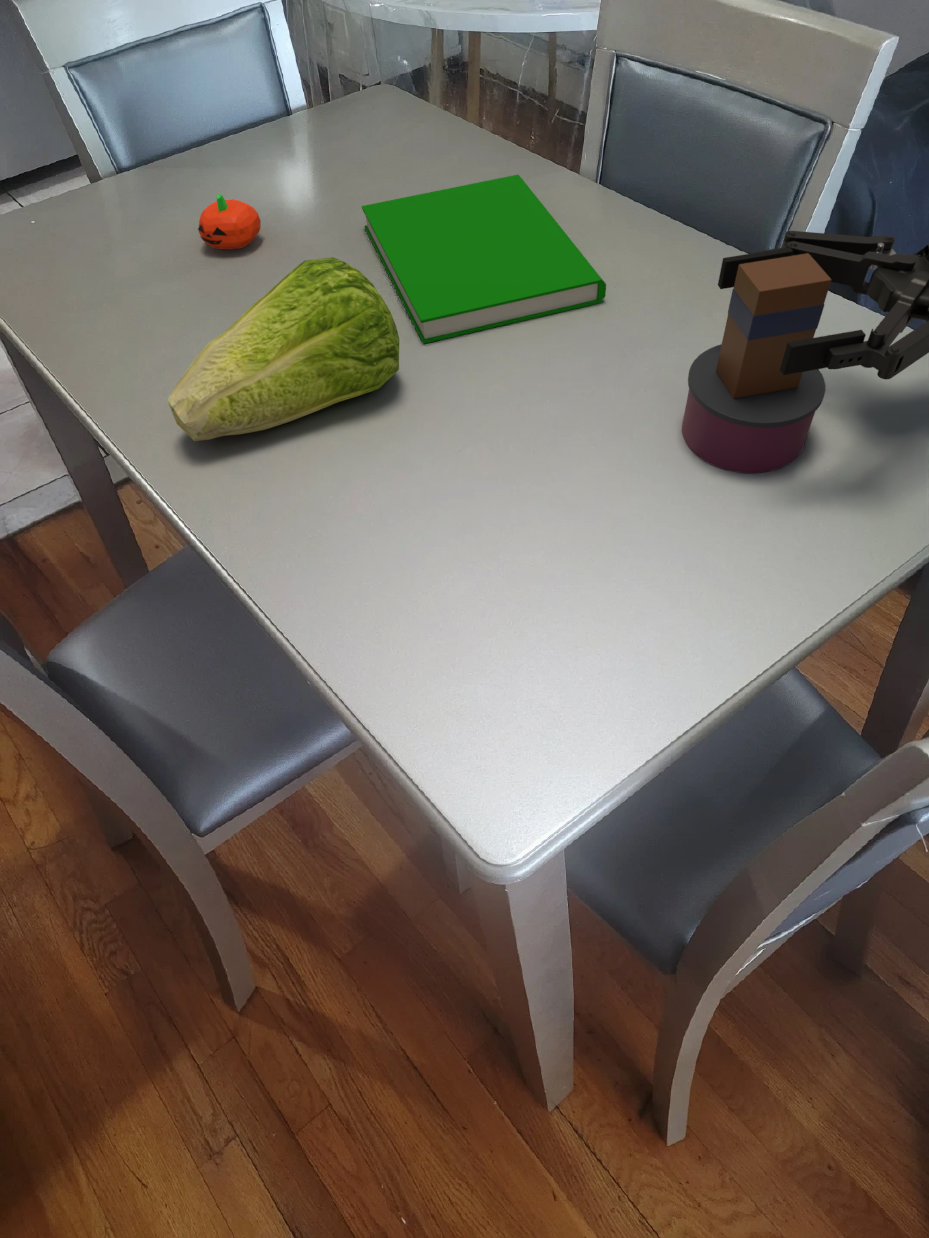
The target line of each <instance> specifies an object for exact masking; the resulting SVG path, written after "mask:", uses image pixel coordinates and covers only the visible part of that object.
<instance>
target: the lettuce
mask: <svg viewBox="0 0 929 1238" xmlns="http://www.w3.org/2000/svg"><path fill="white" fill-rule="evenodd" d="M398 332H399V331H398V327H397V325H396V322H395V319H394V317H393V314H392V312H391V310H390V308H389V306H388V305H387V303H386V302H385V300H384V298H383V296H382V295H381V294H380V292H379V291H378V289H377V288H376V287H375V285H374V283H373V282H371V281H370V280H369V279H368V278H367V276H366V275H364V274H363V273H362V272H361V270H359V269H357V268H355V267H354V266H352V265H350V264H348V263H347V262H346V261H344V260H341V259H339V258H336V257H333V256H332V257H325V258H324V257H323V258H315V259H307V260H303V261H302V262H301V263H299V264H298V265H296V267H294V269H292V270H291V271H290V272H289V273H287V274H286V275H285V276H284V277H283V278H282V279H281V280H279V281H278V282H277V283H276V284H275V285H274V286H273V287H272V288H271V289H270V290H269V291H268V292H266V293H265V294H264V295H263V296H262V297H260V298H259V299H258V300H257V301H255V302H254V303H253V304H252V305H250V306H249V307H248V308H247V309H246V310H245V311H244V312H243V314H242V315H241V316H240V317H238V319H237V320H235V321H234V323H232V324H231V325H230V326H229V327H228V328H227V329H226V330H225V331H223V332H222V333H220V334H219V335H218V336H216V337H215V338H213V339H212V340H211V341H209V342H208V343H207V344H206V345H205V346H204V347H203V349H201V351H199V353H198V354H197V356H196V357H195V358H194V359H193V360H192V362H191V363H190V365H189V366H188V367H187V369H186V370H185V371H184V373H183V375H181V377H180V378H179V380H178V381H177V383H176V384H175V386H173V389H172V391H171V393H170V395H169V397H168V398H167V403H168V406H169V408H170V411H171V414H172V416H173V418H174V421H175V423H176V425H177V426H178V427H179V428H180V429H181V430H183V431H184V432H185V434H187V435H188V437H190V439H192V441H194V442H200V441H206V440H212V439H213V440H214V439H216V438H220V437H225V436H235V435H243V434H249V433H255V432H260V431H265V430H268V429H271V428H274V427H278V426H281V425H283V424H286V423H289V422H292V421H295V420H298V419H300V418H302V417H303V418H304V417H305V416H307V415H310V414H313V413H315V412H318V411H320V410H322V409H325V408H328V407H330V406H333V405H335V404H337V403H340V402H344V401H346V400H347V401H348V400H350V399H353V398H356V397H359V396H362V395H365V394H368V393H371V392H374V391H376V390H379V389H380V388H382V386H384V384H386V382H387V381H389V380H390V379H391V378H392V377H393V376H394V375H395V374H396V373H397V372H398V371H399V370H400V337H399V333H398Z"/></svg>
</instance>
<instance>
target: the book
mask: <svg viewBox="0 0 929 1238" xmlns="http://www.w3.org/2000/svg"><path fill="white" fill-rule="evenodd" d="M361 209H362V212H363V214H364V216H365V220H366V225H364V230H365V232H366V234H367V235H368V238H369V240H370V241H371V244H372V246H373V248H374V250H375V252H376V253H377V256H378V257H379V260H380V262H381V263H382V265H383V267H384V270H385V271H386V273H387V275H388V277H389V280H390V281H391V283H392V285H393V287H394V290H395V291H396V294H397V295H398V297H399V299H400V300H401V303H402V305H403V306H404V308H405V311H406V312H407V315H408V316H409V318H410V319H409V320H410V321H411V323H412V324H413V326H414V328H415V330H416V332H417V334H418V336H419V338H420V340H421V342H422V344H428V343H432V342H433V343H434V342H437V341H441V340H445V339H450V338H455V337H459V336H463V335H468V334H472V333H477V332H481V331H485V330H490V329H494V328H499V327H502V326H507V325H512V324H516V323H520V322H525V321H528V320H533V319H538V318H542V317H546V316H549V315H555V314H559V313H564V312H568V311H572V310H576V309H580V308H585V307H589V306H594V305H598V304H601V303H602V301H603V300H604V299H605V297H606V293H607V283H606V282H605V281H604V280H603V278H602V277H601V276H600V274H598V272H597V271H596V269H595V268H594V266H592V264H591V263H590V262H589V260H588V259H587V258H586V257H585V255H584V254H583V253H582V252H581V251H580V249H579V248H578V247H577V246H576V244H575V243H574V242H573V241H572V240H571V238H570V237H569V236H568V234H567V233H566V232H565V230H564V229H563V228H562V227H561V226H560V224H559V223H558V221H557V220H556V219H555V218H554V216H553V215H552V214H551V213H550V211H549V210H548V209H547V208H546V207H545V206H544V204H543V203H542V202H541V200H540V199H539V198H538V197H537V196H536V194H535V193H534V191H533V190H532V189H531V187H529V185H528V184H527V183H526V182H525V180H524V179H523V178H522V177H521V176H520V174H513V175H509V176H503V177H498V178H493V179H489V180H483V181H478V182H473V183H468V184H464V185H459V186H453V187H449V188H444V189H439V190H433V191H430V192H425V193H419V194H415V195H414V194H413V195H408V196H404V197H400V198H395V199H389V200H384V201H379V202H374V203H369V204H365V205H361Z"/></svg>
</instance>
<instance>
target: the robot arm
mask: <svg viewBox="0 0 929 1238" xmlns="http://www.w3.org/2000/svg"><path fill="white" fill-rule="evenodd" d="M895 241H896V237H894V236H892V235H889V234H886V235H885V234H884V235H875V236H874V235H873V236H862V235H861V236H860V235H851V234H837V233H824V232H812V231H801V230H800V231H799V230H787V231H786V232H785V233H784V236H783V240H782V245H781V247H778V248H770V249H766V250H759V251H754V252H752V253H745V254H739V255H733V256H727V257H723V258H722V261H721V267H720V270H719V271H720V272H719V277H718V282H717V286H718V288H719V289H720V290H725V289H733V288H734V285H735V280H736V276H737V271H738V266H739V264H745V263H751V262H757V261H763V260H770V259H776V258H782V257H788V256H794V255H801V254H807V253H808V254H809V255H810V256H811V257H812V258H813V259H814V260H815V261H816V263H817V264H818V265H819V266H820V267H821V268H822V269H823V270H824V272H825V273H826V274H827V275H828V276H829V277H830V278H831V283H834V284H838V285H839V284H840V285H844V286H849V287H851V288H852V291H853V292H854V293H856V294H861V295H864V296H865V295H866V296H868V297H869V298H870V299H872V300H873V301H874V302H876V303H877V306H878V308H879V309H880V310H881V311H882V312H883V313H887V314H886V315H885V316H884V317H883V318H882V320H881V321H880V322H879V324H878V325H877V326H876V327H875V329H874V328H871V331H870V334H869V336H868V338H867V340H865V339H866V336H867V335H866V333H865V331H863V329H859V330H858V329H857V330H851V331H845V332H840V333H834V334H829V335H821V336H817V337H814V338H810V339H804V340H798V341H793V342H788V343H787V346H786V350H785V353H784V357H783V360H782V364H781V367H780V371H781V372H782V374H783V375H788V374H794V373H799V372H805V371H811V370H816V369H819V370H822V369H828V370H839V369H840V370H841V369H845V368H853V367H857V366H861V367H863V368H866V369H872V368H874V369H875V370H876V371H877V377H878V378H880V379H881V380H885V381H886V380H892V378H894V377H896V376H897V375H898V374H900V373H901V372H902V371H904V370H906V369H908V368H909V367H910V366H911V365H913V364H915V363H916V362H917V361H919V360H921V359H922V358H924V356H925V357H926V355H928V354H929V243H928V244H927V245H925V246H924V247H922V248H921V249H920V250H918V251H917V252H916V253H911V254H910V253H908V254H907V253H897V252H896V251H895V250H894V249H893V247H894V244H895ZM869 269H870V270H872V273H871V276H870V278H869V282H867V281H866V278H867V275H868V272H869ZM914 319H915V320H920V321H924V323H922V324H921V325H919V326H918V327H916V328H915V329H913V330H912V331H910V332H909V333H907V334H905V335H904V336H903V337H900V339H898V340H896V338H897V337H898V336H899V335H900V333H901V334H902V333H903V332H904V330H905V329H906V328H907V327H908V325H910V323H911V322H913V320H914ZM895 340H896V341H895ZM894 341H895V342H894ZM893 342H894V343H893Z"/></svg>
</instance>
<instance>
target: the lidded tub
mask: <svg viewBox="0 0 929 1238" xmlns="http://www.w3.org/2000/svg"><path fill="white" fill-rule="evenodd" d="M721 345H722V343H720V344H717V345H714V346H712V347H710V348H708V349H706V350H704V351H703V352H702V353H700V354H699V355H698V356H697V357H696V358H695V359H694V360H693V362H692V364H690V367H689V371H688V376H687V386H688V392H687V397H686V403H685V406H684V407H685V408H684V413H683V418H682V419H683V420H682V423H681V434H682V437H683V439H684V442H685V444H686V445H687V447H688V448H689V450H691V451H692V453H694V454H695V455H696V456H697V457H699V458H700V459H701V460H703V461H704V462H706V463H707V464H709V465H712V466H713V467H714V466H715V467H717V468H719V469H723V470H726V471H730V472H736V473H742V474H760V473H767V472H772V471H776V470H778V469H781V468H783V467H785V466H787V465H789V464H790V463H792V462H793V461H795V460H796V459H797V458H798V457H799V455H800V454H801V452H802V451H803V448H804V447H805V444H806V440H807V437H808V434H809V431H810V429H811V425H812V423H813V419H814V418H815V417H814V416H815V414H816V411H817V410H818V409H819V407H820V406H821V404H822V403H823V401H824V397H825V394H826V381H825V378H824V376H823V373H822V372H821V371H820V369H816V370H811V371H805V372H803V373H802V376H801V380H800V383H799V386H798V388H792V389H787V390H781V391H775V392H770V393H764V394H758V395H753V396H747V397H741V398H735V399H733V397H732V396H731V394H730V392H729V391H728V389H727V388H726V386H725V385H724V383H723V382H722V380H721V378H720V377H719V375H718V374H717V372H716V368H717V363H718V359H719V354H720V350H721Z"/></svg>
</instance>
